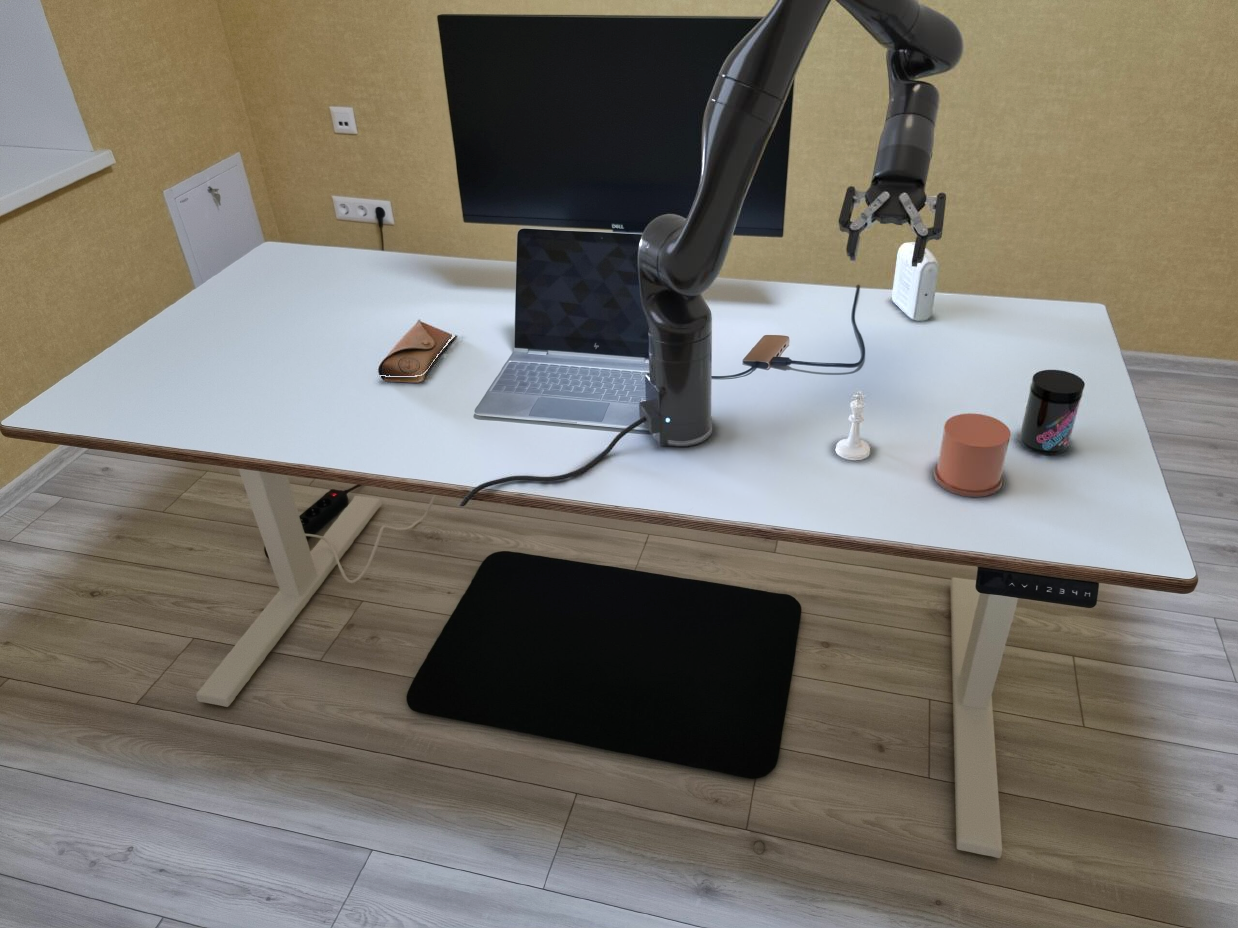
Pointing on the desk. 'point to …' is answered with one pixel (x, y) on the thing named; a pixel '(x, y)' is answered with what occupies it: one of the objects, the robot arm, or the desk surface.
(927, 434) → the desk surface
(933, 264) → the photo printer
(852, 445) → the chess piece
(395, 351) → the sunglasses case
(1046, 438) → the supplement container
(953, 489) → the upturned cup
